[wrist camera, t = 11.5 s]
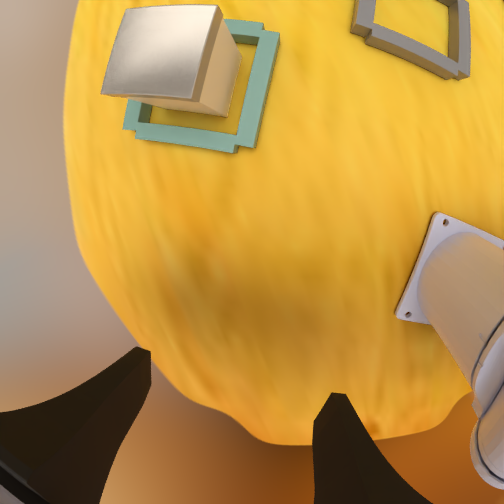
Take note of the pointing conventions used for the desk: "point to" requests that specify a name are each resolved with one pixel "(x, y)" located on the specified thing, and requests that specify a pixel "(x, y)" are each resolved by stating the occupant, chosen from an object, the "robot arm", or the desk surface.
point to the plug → (174, 59)
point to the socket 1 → (252, 106)
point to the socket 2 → (414, 50)
